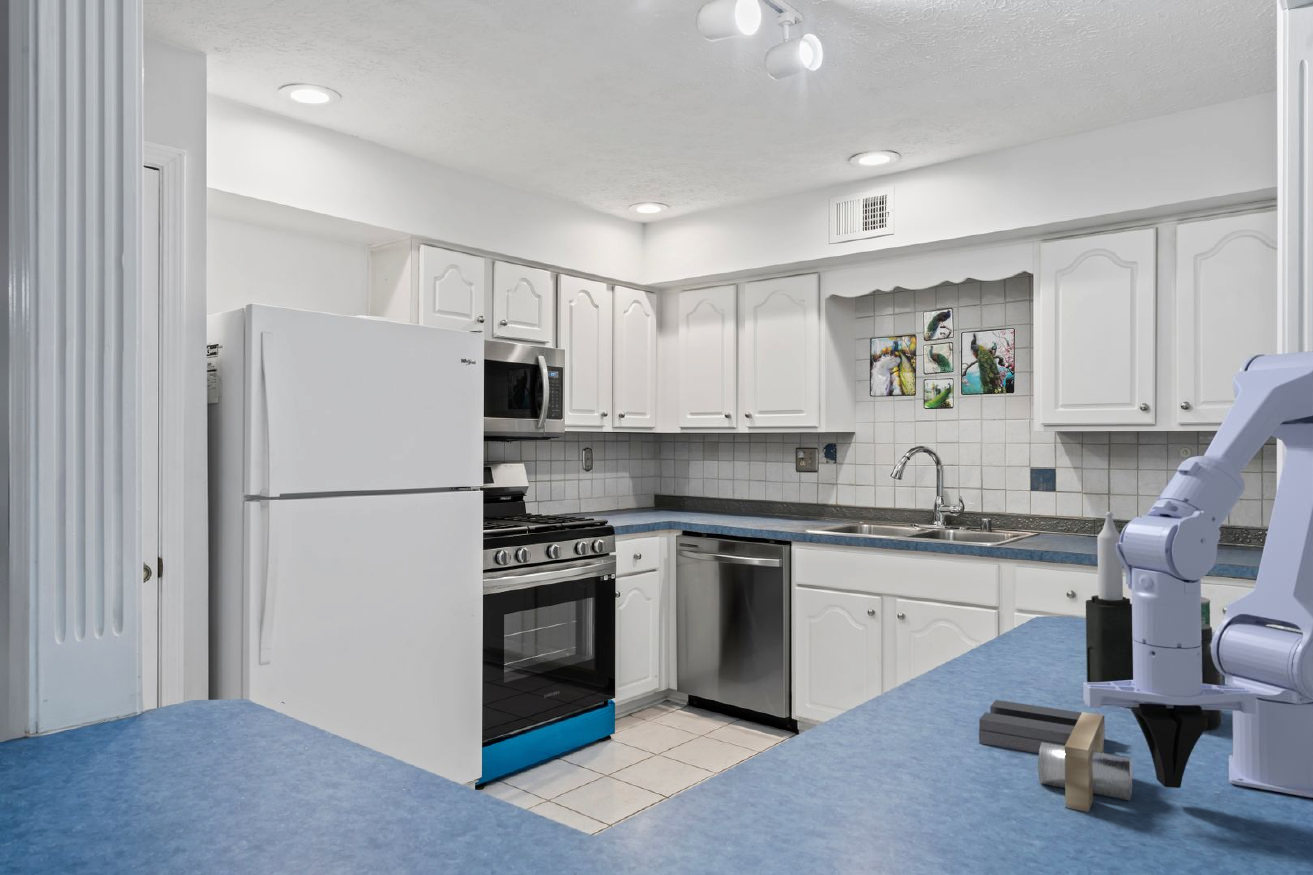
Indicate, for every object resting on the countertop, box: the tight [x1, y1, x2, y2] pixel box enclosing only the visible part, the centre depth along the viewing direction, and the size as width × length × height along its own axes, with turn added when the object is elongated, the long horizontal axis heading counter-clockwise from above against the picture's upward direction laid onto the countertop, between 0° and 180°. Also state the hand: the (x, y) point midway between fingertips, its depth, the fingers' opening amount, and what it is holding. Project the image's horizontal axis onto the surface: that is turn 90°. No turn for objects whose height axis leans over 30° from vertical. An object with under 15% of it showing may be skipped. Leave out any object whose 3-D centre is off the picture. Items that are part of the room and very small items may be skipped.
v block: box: [978, 699, 1106, 755], centre depth 100 cm, size 12×9×3 cm
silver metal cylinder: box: [1037, 742, 1133, 801], centre depth 86 cm, size 8×4×4 cm, turn 57°
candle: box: [1085, 511, 1133, 682], centre depth 116 cm, size 5×5×25 cm
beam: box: [1064, 711, 1105, 813], centre depth 87 cm, size 2×12×6 cm, turn 147°
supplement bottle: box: [1201, 623, 1223, 732], centre depth 106 cm, size 7×7×12 cm
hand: (1168, 783), depth 83 cm, fingers closed
